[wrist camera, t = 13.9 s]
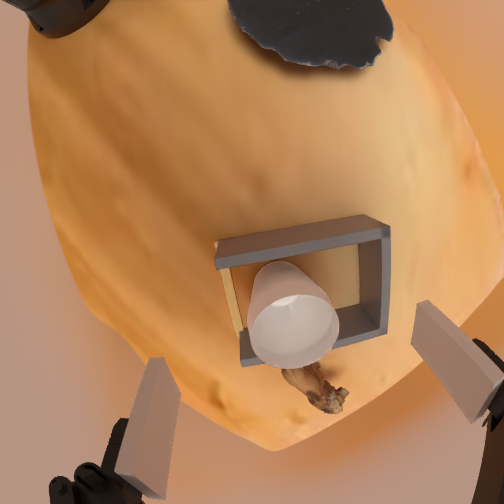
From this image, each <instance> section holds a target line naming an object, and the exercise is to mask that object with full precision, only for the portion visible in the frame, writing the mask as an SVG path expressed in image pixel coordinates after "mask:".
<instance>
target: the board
mask: <svg viewBox="0 0 504 504" xmlns="http://www.w3.org/2000/svg"><path fill="white" fill-rule="evenodd" d="M227 1H228V4H229V8H230V13H232V15H233V17H234V21H235V22H236V23H237V24H238V26H240V28H242V31H243V32H245V33H247V34H249V35H250V37H251V38H253V39H254V40H255V41H256V42H257V43H258V44H259V45H260V46H261V47H262V48H264V49H271V50H273V51H276V52H277V53H278V54H279V55H280V56H281V57H282V58H283V59H284V60H285V61H289V62H292V63H296V64H300V65H305V66H323V65H325V66H327V67H330V68H333V69H336V70H339V69H340V68H341V67H343V66H345V65H349V66H352V67H354V68H356V69H362V68H364V67H367V66H373V65H374V62H375V59H376V58H377V57H378V56H379V55H380V54H381V50H380V49H379V46H378V45H377V43H376V42H377V40H376V39H377V38H382V39H385V40H387V41H389V42H391V40H392V38H393V33H394V24H393V21H392V19H391V16H390V14H389V13H388V12H387V10H386V8H385V5H384V3H383V1H382V0H227Z"/></svg>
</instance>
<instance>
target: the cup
mask: <svg viewBox="0 0 504 504" xmlns="http://www.w3.org/2000/svg"><path fill="white" fill-rule="evenodd" d="M247 326H248V331H249V335H250V341H251V346H252V348H253V351H254V352H255V354H256V355H257V356H258V357H259V358H260V359H261V360H262V361H263V362H265V363H266V364H268V365H271V366H273V367H277V368H282V369H295V368H301V367H304V366H307V365H310V364H312V363H314V362H316V361H318V360H319V359H321V358H322V357H323V356H324V355H326V354H327V353H328V352H329V350H330V349H331V348H332V347H333V345H334V343H335V341H336V339H337V337H338V333H339V319H338V316H337V314H336V311H335V310H334V308H333V305H332V303H331V301H330V299H329V297H328V296H327V294H326V293H325V292H324V291H323V289H321V288H320V287H319V286H318V285H317V284H316V283H315V282H314V281H312V280H311V279H310V278H309V277H308V276H307V275H306V274H304V273H303V272H302V271H301V270H300V269H299V268H297V267H296V266H295V265H293V264H292V263H289V262H286V261H274V262H271V263H269V264H267V265H265V266H264V267H262V268H261V269H260V270H259V272H258V273H257V275H256V277H255V280H254V284H253V289H252V294H251V299H250V304H249V309H248V315H247Z"/></svg>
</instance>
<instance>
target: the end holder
mask: <svg viewBox="0 0 504 504" xmlns="http://www.w3.org/2000/svg"><path fill="white" fill-rule="evenodd" d="M357 243H358V248H359V271H360V304H357V305H353V306H349V307H345V308H341V309H337V310H335V311H336V314H337V316H338V319H339V333H338V337H337V339H336V341H335V343H334V345H333V347H332V348H331V349H335V348H339V347H342V346H346V345H350V344H354V343H357V342H361V341H364V340H368V339H371V338H374V337H378V336H381V335H384V334H387V329H388V317H389V302H390V277H391V239H390V226H388V225H386V224H384V223H382V222H380V221H378V220H375V219H373V218H371V217H369V216H367V215H358V216H352V217H346V218H340V219H334V220H329V221H323V222H317V223H311V224H306V225H300V226H294V227H289V228H283V229H278V230H272V231H267V232H261V233H256V234H251V235H245V236H240V237H235V238H229V239H224V240H219V241H214V247H215V251H216V254H215V258H214V260H215V264H216V268H217V270H220V273H221V277H222V281H223V285H224V289H225V293H226V297H227V302H228V306H229V310H230V314H231V318H232V321H233V325H234V329H235V333H236V337H237V339H239V338H240V362H241V365H242V367H246V366H252V365H259V364H264V363H265V362H263V361H262V360H261V359H260V358H259V357H258V356H257V355H256V354H255V352H254V351H253V348H252V346H251V341H250V335H249V331H248V328H243V324H242V320H241V316H240V311H239V307H238V303H237V298H236V294H235V290H234V285H233V281H232V276H231V272H230V268H231V267H236V266H241V265H247V264H252V263H258V262H263V261H268V260H274V259H279V258H284V257H290V256H295V255H300V254H305V253H310V252H316V251H321V250H326V249H331V248H336V247H341V246H346V245H352V244H357ZM331 349H330V350H331Z"/></svg>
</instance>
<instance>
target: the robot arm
mask: <svg viewBox="0 0 504 504" xmlns="http://www.w3.org/2000/svg"><path fill="white" fill-rule="evenodd" d="M3 1H5V2H7V3H9V4H11V5H13V6H15V7H17V8H19V9H20V10H22V11H24V12H25V13H26V15H27V16H28V18H29V20H30V22H31V23H32V25H33V27H34V28H35V30H36V31H37V32H38V33H40V34H42V35H44V36H46V37H48V38H58V37H62V36H65V35H67V34H69V33H71V32H73V31H75V30H77V29H79V28H80V27H82V26H83V25H84V24H86V23H87V22H88V21H90V20H91V19H92V18H93V17H94V16H96V15H97V14H98V13H99V12H100V11H101V10H102V9H103V7H104V6H105V5H106V4H107V3H108V1H109V0H3ZM411 345H412V346H413V347H414V348H415V350H416V351H417V352H418V353H419V355H420V356H421V357H422V358H423V360H424V361H425V362H426V363H427V365H428V366H429V367H430V369H431V370H432V371H433V373H434V374H435V375H436V376H437V378H438V379H439V380H440V382H441V383H442V384H443V385H444V387H445V388H446V390H447V391H448V392H449V394H450V395H451V396H452V398H453V399H454V401H455V402H456V403H457V405H458V406H459V407H460V409H461V410H462V411H463V413H464V414H465V416H466V418H467V419H468V420H469V422H470V423H471V424H472V423H474V422H475V421H477V420H478V419H480V418H481V417H482V416H483V415H484V413H485V412H486V410H487V408H488V410H489V411H490V413H489V415H488V416H487V418H486V419H485V421H484V422H483V425H482V427H484V426H485V424H486V423H487V421H488V423H487V432H486V440H485V447H484V453H483V458H482V463H481V468H480V473H479V477H478V481H477V485H476V489H475V493H474V496H473V500H472V503H471V504H504V362H503V361H502V360H501V359H500V358H499V357H498V356H497V355H495V353H494V352H493V351H492V350H490V348H489V347H488V346H487V345H486V344H485V343H484V342H482V341H480V340H478V339H476V338H475V339H473V340H471V339H470V338H469V337H468V336H467V335H466V334H465V333H464V332H462V331H461V330H460V329H459V328H458V327H457V326H456V325H455V324H454V323H453V322H452V321H451V320H450V319H449V318H448V317H446V316H445V315H444V314H443V313H442V312H441V311H440V310H439V309H438V308H437V307H435V306H434V305H433V304H432V303H431V302H430V301H429V300H426V301H423V302H420V303H417V308H416V315H415V322H414V328H413V334H412V339H411ZM180 397H181V392H180V390H179V388H178V386H177V385H176V383H175V381H174V379H173V377H172V375H171V372H170V370H169V368H168V366H167V364H166V362H165V360H164V358H163V357H158V358H149V361H148V364H147V367H146V370H145V372H144V375H143V378H142V381H141V384H140V387H139V390H138V393H137V396H136V399H135V402H134V405H133V408H132V411H131V414H130V418H129V419H128V418H127V419H126V418H120V419H119V420H118V422H117V423H116V424H115V425H114V427H113V430H112V433H111V438H110V439H109V442H108V443H109V445H108V446H107V448H106V452H105V455H104V458H103V461H102V465H101V468H100V467H99V466H98V465H96V464H94V463H91V462H86V463H83V464H81V465H80V466H78V467H77V469H76V470H75V473H74V480H75V482H71V481H70V480H69V479H68V478H66V477H63V476H57V477H55V478H54V479H53V480H51V482H50V484H49V496H50V504H145V503H144V502H143V501H142V500H141V498H142V494H144V495H145V496H146V497H148V498H152V499H161V500H165V498H166V489H167V481H168V474H169V467H170V466H169V465H170V459H171V452H172V446H173V439H174V432H175V427H176V419H177V414H178V408H179V402H180Z"/></svg>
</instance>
